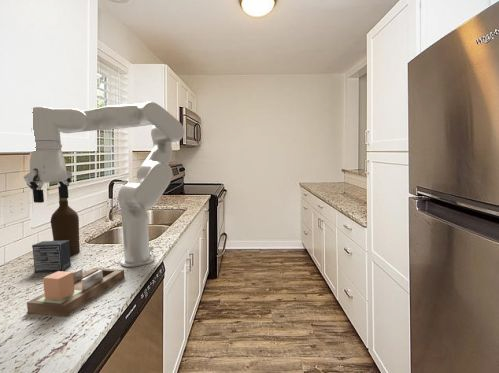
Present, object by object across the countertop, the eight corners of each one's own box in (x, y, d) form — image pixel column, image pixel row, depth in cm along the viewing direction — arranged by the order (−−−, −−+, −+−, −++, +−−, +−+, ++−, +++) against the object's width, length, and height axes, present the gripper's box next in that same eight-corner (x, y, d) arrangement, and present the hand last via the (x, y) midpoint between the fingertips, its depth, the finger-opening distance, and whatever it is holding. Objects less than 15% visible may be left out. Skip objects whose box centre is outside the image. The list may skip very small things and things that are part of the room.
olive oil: (77, 255, 133) (73, 198, 131) (49, 258, 130) (44, 199, 128) (83, 248, 143) (79, 195, 141) (58, 251, 141) (53, 196, 138)
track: (94, 276, 109) (93, 259, 108) (124, 278, 107) (123, 261, 106) (27, 312, 84) (25, 291, 83) (65, 316, 81) (63, 294, 81)
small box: (72, 265, 121) (70, 239, 120) (62, 271, 114) (60, 244, 113) (44, 266, 120) (42, 240, 119) (33, 272, 114) (31, 245, 113)
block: (59, 291, 90) (58, 271, 89) (74, 292, 89) (72, 272, 88) (45, 298, 85) (43, 277, 85) (60, 300, 84) (58, 278, 83)
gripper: (59, 148, 108) (63, 196, 109) (11, 146, 91) (17, 204, 92) (77, 147, 106) (81, 196, 108) (33, 146, 89) (38, 204, 91)
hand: (52, 200), depth 100 cm, fingers open, 9 cm apart
